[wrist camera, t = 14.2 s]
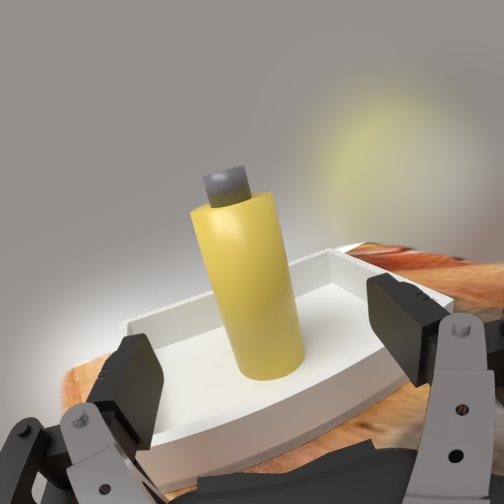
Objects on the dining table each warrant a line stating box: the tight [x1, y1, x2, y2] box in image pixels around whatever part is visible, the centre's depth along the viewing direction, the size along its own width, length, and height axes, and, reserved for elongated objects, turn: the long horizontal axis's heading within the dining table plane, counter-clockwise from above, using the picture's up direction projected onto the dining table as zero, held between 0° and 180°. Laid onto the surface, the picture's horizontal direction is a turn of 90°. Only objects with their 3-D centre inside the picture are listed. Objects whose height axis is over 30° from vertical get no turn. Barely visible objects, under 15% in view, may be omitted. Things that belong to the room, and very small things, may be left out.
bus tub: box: [117, 248, 454, 494], centre depth 22 cm, size 22×16×4 cm
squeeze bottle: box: [190, 166, 305, 381], centre depth 20 cm, size 5×5×14 cm
